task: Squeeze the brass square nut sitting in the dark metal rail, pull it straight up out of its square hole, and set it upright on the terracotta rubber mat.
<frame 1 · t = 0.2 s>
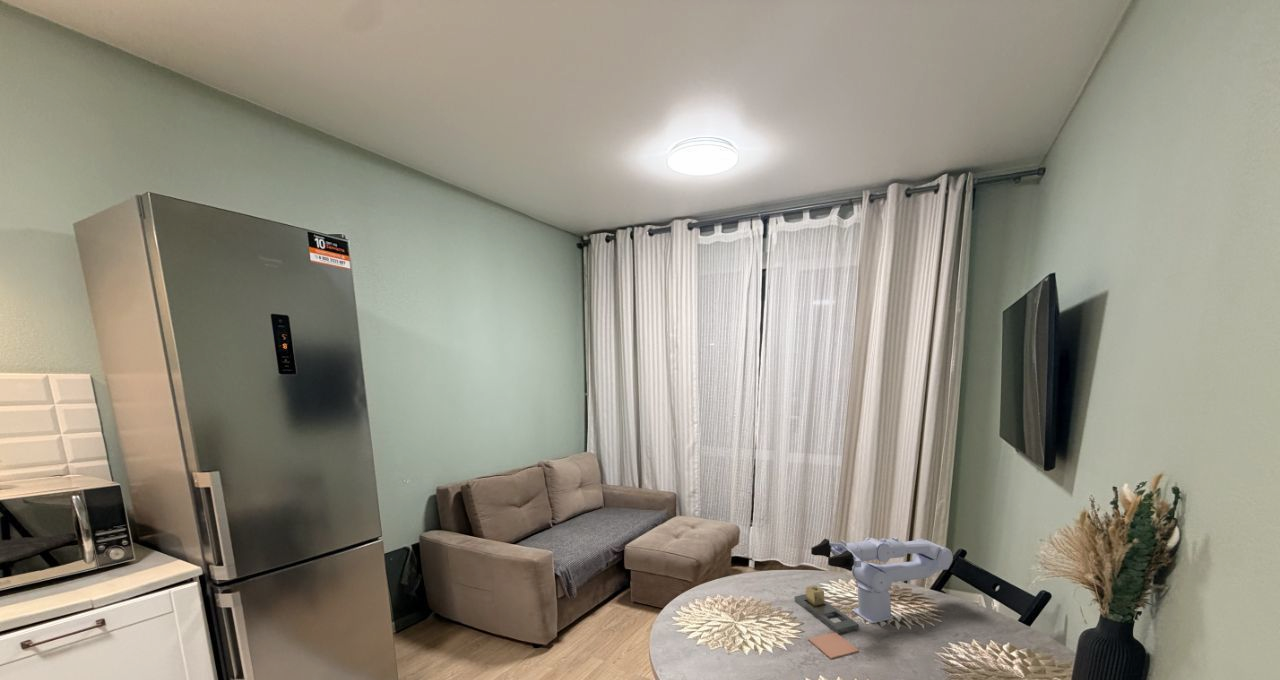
hand: (820, 556, 139), 21 cm above the table, tool horizontal, fingers open, 7 cm apart
terracotta mat: (833, 645, 128), on the table
metal rail: (824, 614, 144), on the table
brass nut: (815, 607, 148), resting in metal rail
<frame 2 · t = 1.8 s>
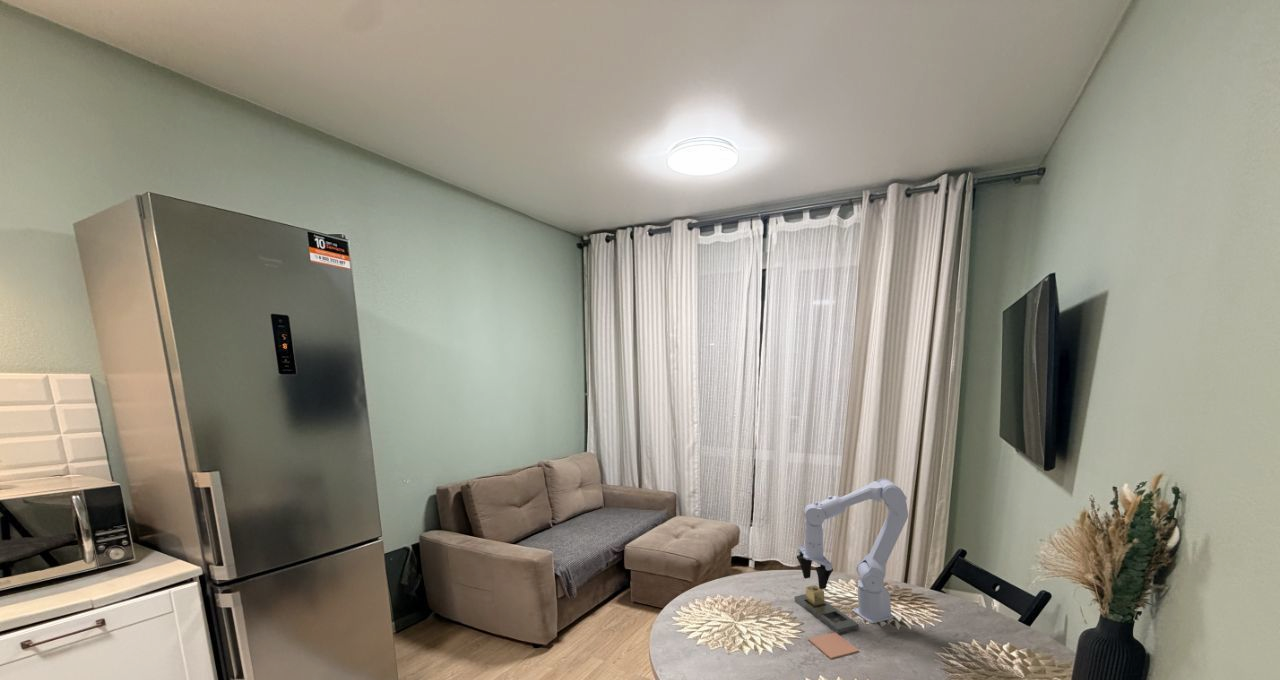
hand: (814, 582, 149), 8 cm above the table, tool pointing down, fingers open, 7 cm apart
nothing on the table moved.
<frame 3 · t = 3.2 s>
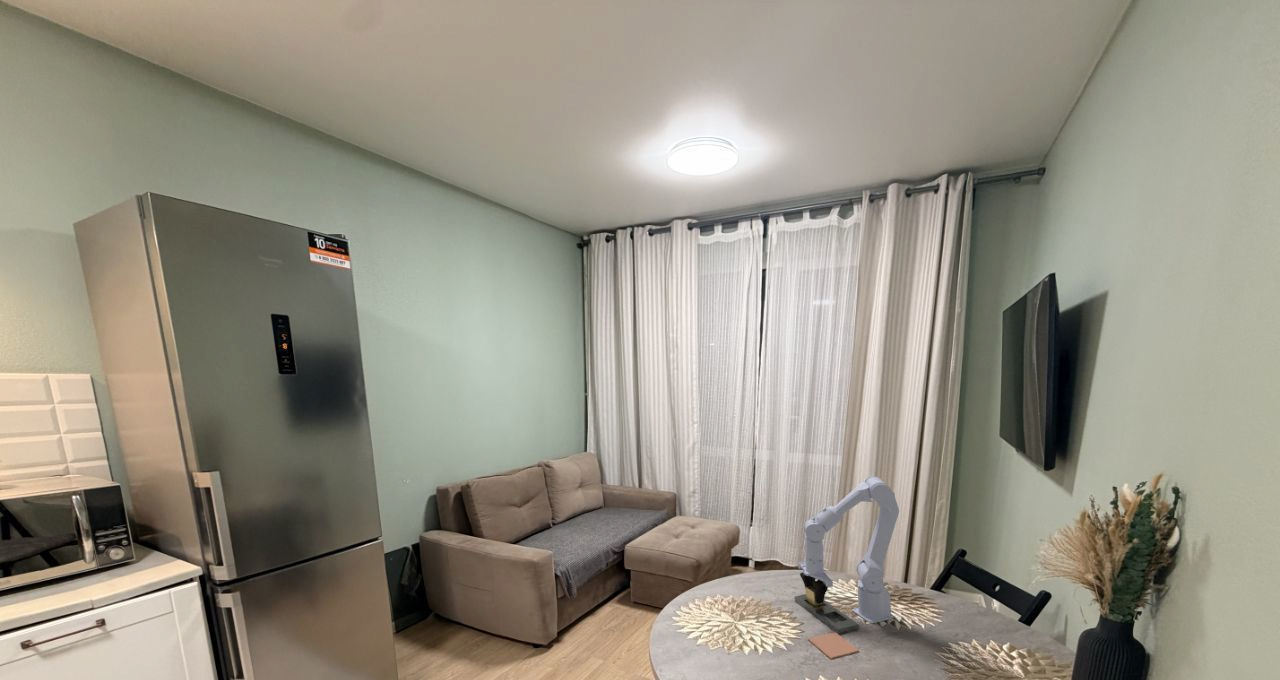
hand: (815, 599, 149), 3 cm above the table, tool pointing down, fingers closed on brass nut, 4 cm apart
brass nut: (815, 607, 148), resting in metal rail, touching gripper
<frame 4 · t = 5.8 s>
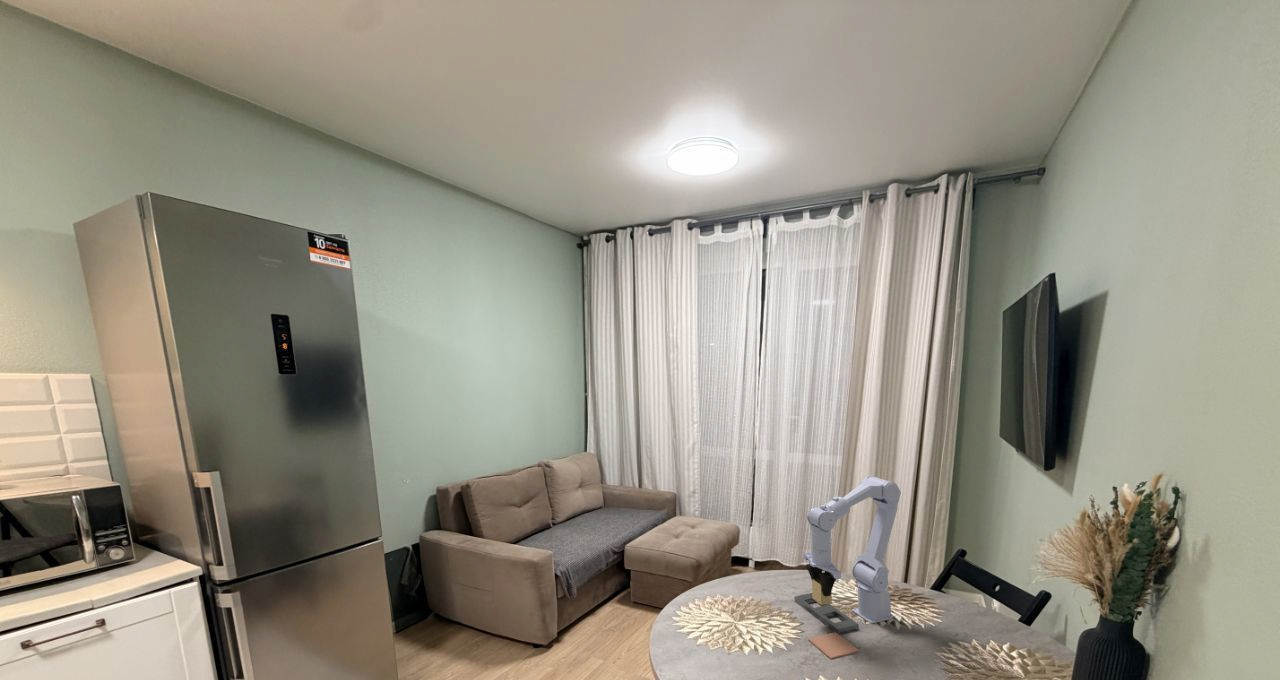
hand: (822, 592, 139), 10 cm above the table, tool pointing down, fingers closed on brass nut, 4 cm apart
brass nut: (822, 600, 139), point 7 cm above the table, touching gripper
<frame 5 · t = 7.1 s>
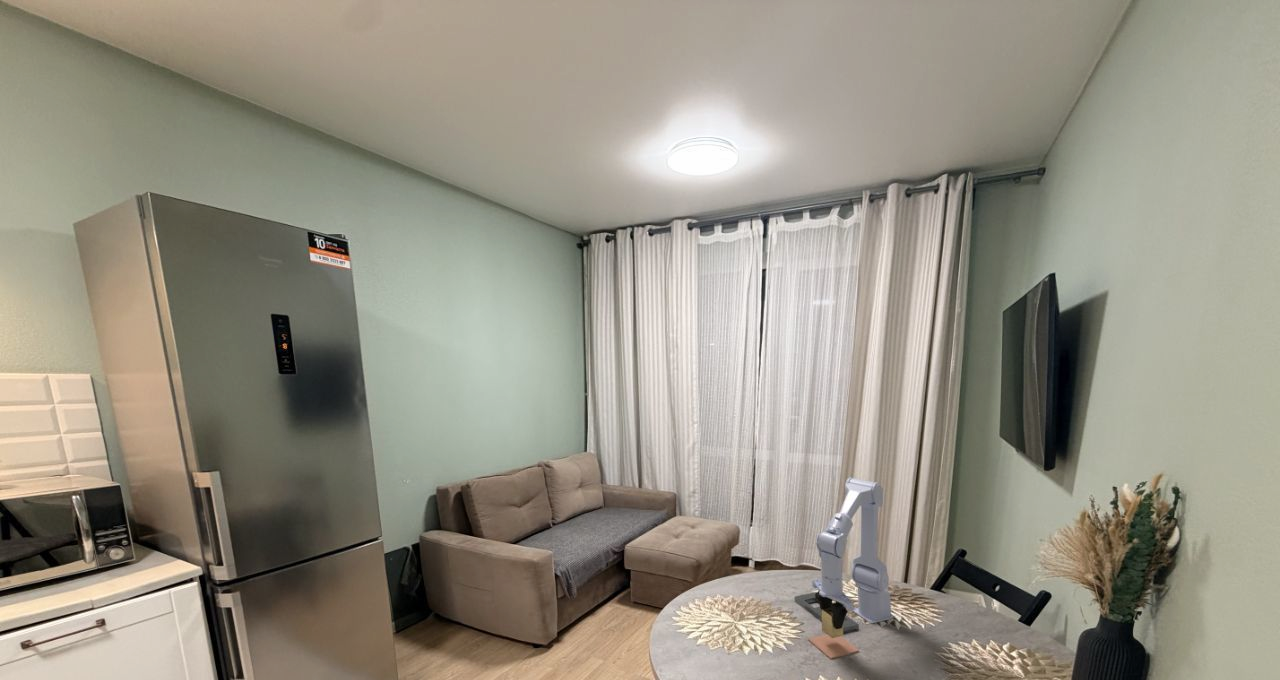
hand: (832, 623, 128), 6 cm above the table, tool pointing down, fingers closed on brass nut, 4 cm apart
brass nut: (832, 633, 128), point 4 cm above the table, touching gripper
when the fingers open (5 cm above the table, at t = 8.2 s): brass nut drops 2 cm, resting on terracotta mat.
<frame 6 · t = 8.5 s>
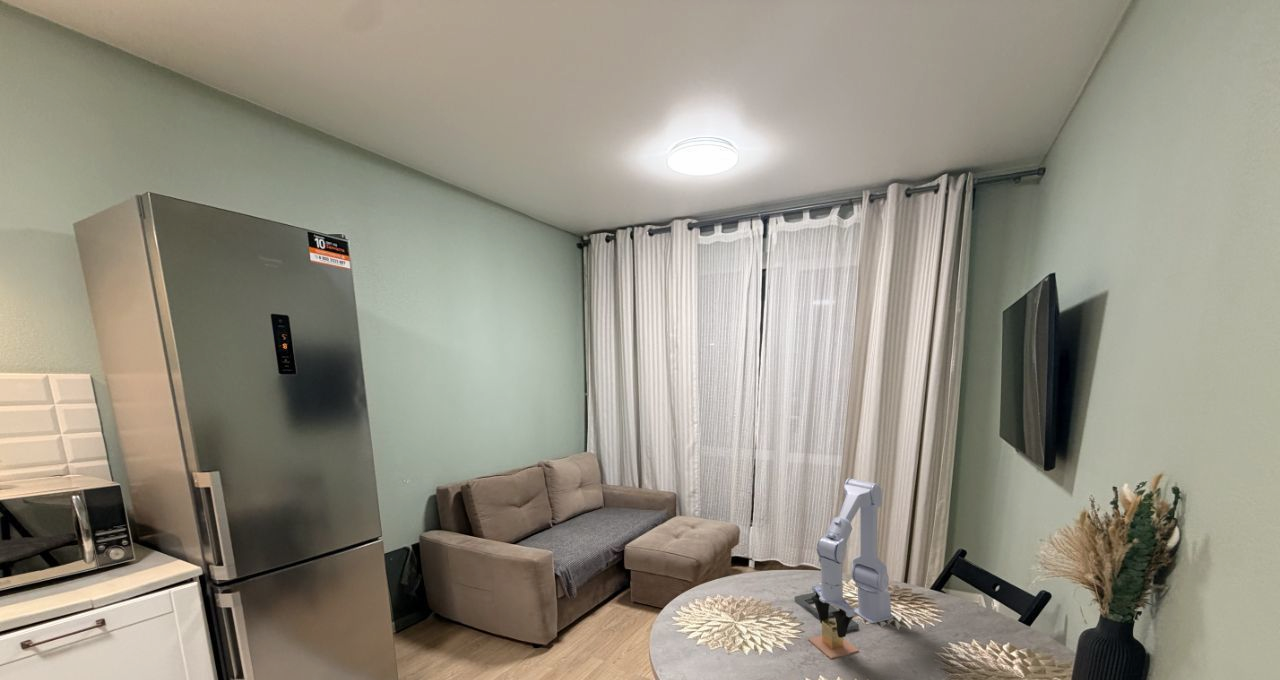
hand: (832, 629, 128), 5 cm above the table, tool pointing down, fingers open, 6 cm apart
brass nut: (832, 644, 128), resting on terracotta mat
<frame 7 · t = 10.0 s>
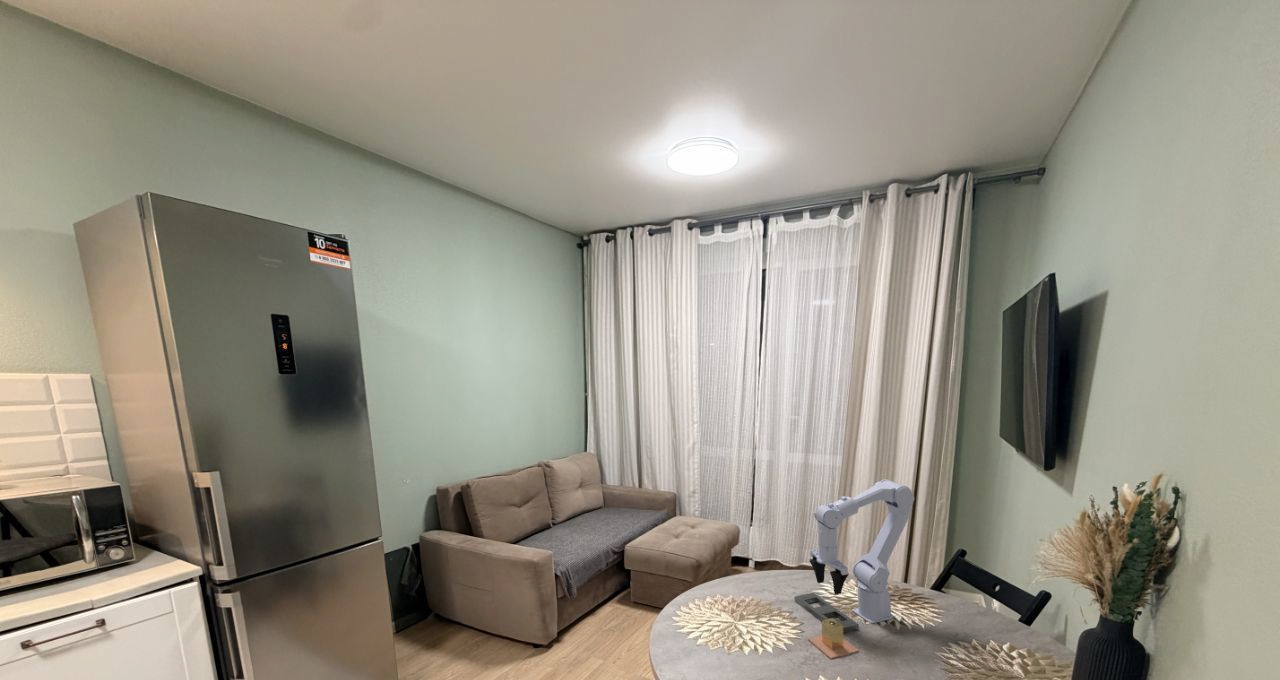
hand: (828, 587, 143), 9 cm above the table, tool pointing down, fingers open, 7 cm apart
nothing on the table moved.
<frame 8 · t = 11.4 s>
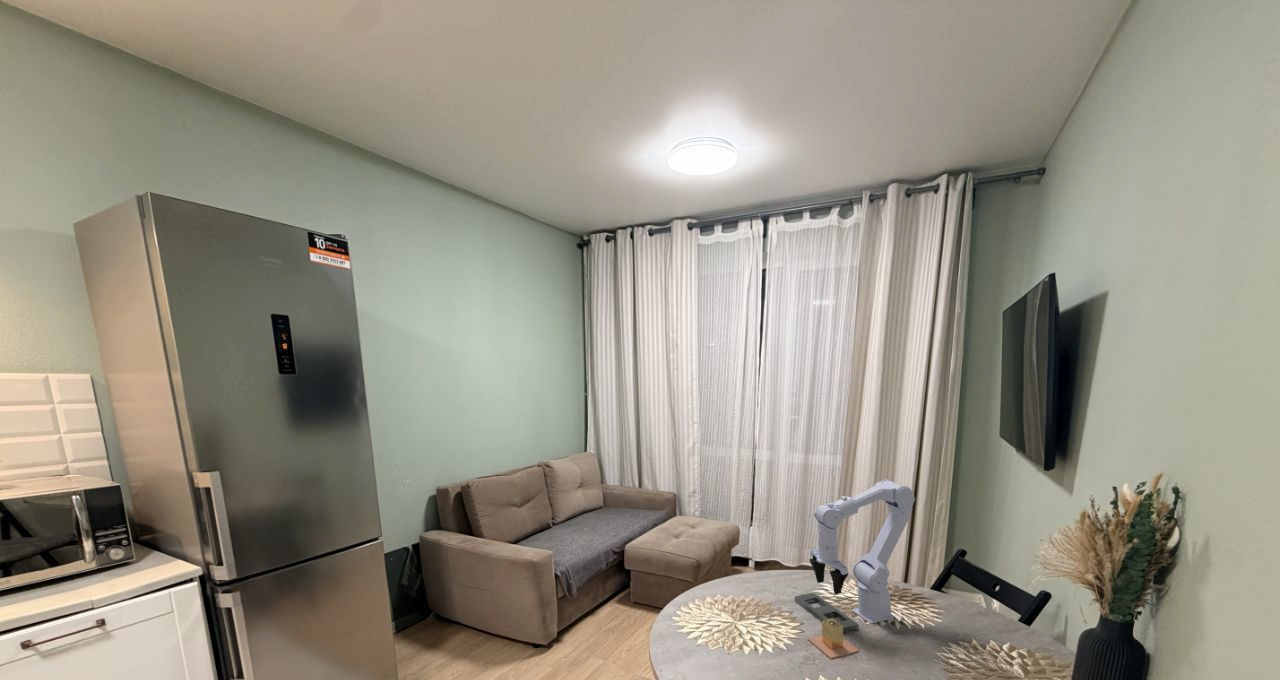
hand: (828, 587, 143), 9 cm above the table, tool pointing down, fingers open, 7 cm apart
nothing on the table moved.
at the end: brass nut inside the target area on the terracotta mat (0.1 cm from its centre), point 0.4 cm above the terracotta mat's base; brass nut tilted 0°; the gripper is holding nothing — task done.
